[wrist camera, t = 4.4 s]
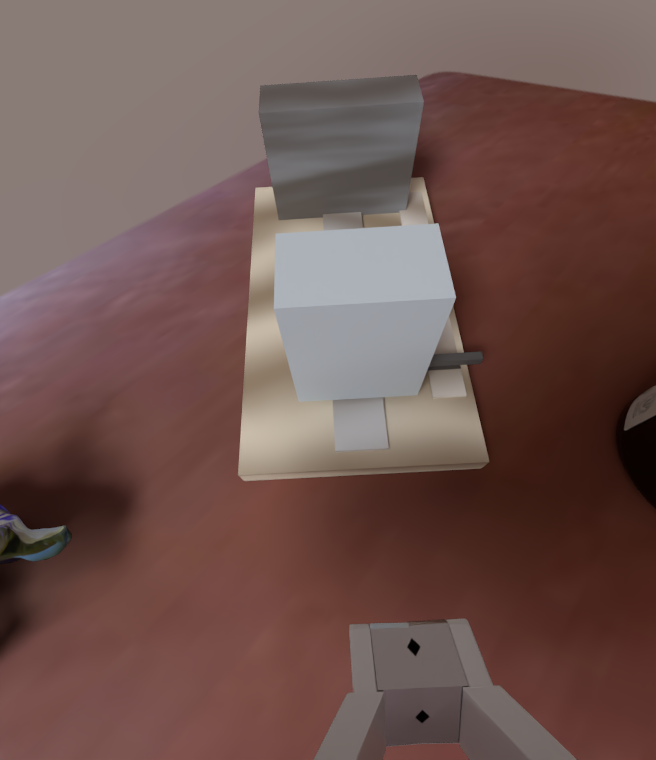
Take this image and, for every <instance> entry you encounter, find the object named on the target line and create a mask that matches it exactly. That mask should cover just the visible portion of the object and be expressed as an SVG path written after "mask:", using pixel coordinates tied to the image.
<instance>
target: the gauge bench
mask: <svg viewBox="0 0 656 760" xmlns="http://www.w3.org/2000/svg"><path fill="white" fill-rule="evenodd" d="M423 104H424V101H423V97H422V93H421V89H420V86H419V82H418V78H417V75H410V76H409V75H408V76H394V77H380V78H365V79H351V80H336V81H322V82H307V83H293V84H278V85H264V86H260V102H259V117H260V122H261V127H262V133H263V138H264V144H265V149H266V154H267V160H268V165H269V171H270V176H271V181H272V187H263V188H256V191H255V208H254V224H253V240H252V257H251V273H250V290H249V306H248V323H247V339H246V355H245V372H244V388H243V405H242V421H241V438H240V454H239V470H238V475H239V476H240V477H241V478H242V479H243V480H244V481H253V480H272V479H291V478H310V477H330V476H349V475H368V474H387V473H406V472H425V471H445V470H464V469H481V468H482V467H484V466H485V465H486V464H487V463H489V458H488V454H487V449H486V445H485V441H484V436H483V432H482V428H481V423H480V419H479V415H478V410H477V406H476V402H475V398H474V393H473V389H472V385H471V380H470V376H469V372H468V367H467V365H451V366H433V367H428V370H427V372H426V375H425V377H424V380H423V383H422V385H421V388H420V390H419V393H418V395H414V396H396V397H378V398H360V399H342V400H324V401H306V402H299V401H298V397H297V394H296V390H295V386H294V382H293V379H292V375H291V371H290V367H289V364H288V360H287V356H286V352H285V349H284V345H283V341H282V338H281V334H280V330H279V326H278V323H277V319H276V315H275V311H274V278H275V238H276V234H277V233H293V232H309V231H325V230H341V229H357V228H373V227H389V226H405V225H421V224H434V221H433V217H432V212H431V208H430V204H429V200H428V195H427V191H426V187H425V182H424V178H423V177H418V178H411V176H412V170H413V164H414V158H415V152H416V146H417V140H418V134H419V128H420V122H421V116H422V110H423ZM448 353H464V350H463V346H462V342H461V337H460V333H459V329H458V324H457V320H456V316H455V311H454V307H452V310H451V312H450V315H449V317H448V320H447V322H446V325H445V327H444V330H443V332H442V335H441V337H440V340H439V342H438V345H437V347H436V350H435V352H434V354H448Z"/></svg>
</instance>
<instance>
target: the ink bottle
mask: <svg viewBox="0 0 656 760" xmlns="http://www.w3.org/2000/svg"><path fill="white" fill-rule="evenodd" d="M617 442H618V448H619V452H620V456H621V459H622V461H623V464H624V466H625V468H626V471H627V473H628V474H629V476H630V478H631V480H632V481H633V483H634V484H635V486H636V487H637V489H638V490H639V491H640V493H641V494H642V495H643V496H644V497H645V498H646V500H647V501H648V502H649V503H650V504H651V505H652V506H653V507H654V508H656V385H655V386H653V387H652V388H650V389H649V390H647V391H645V392H644V393H642V394H641V395H639V396H638V397H636V398H635V399H634V400H632V401H631V402H630V403H629V404H628V405H627V406H626V408H625V409H624V410H623V412H622V414H621V416H620V419H619V422H618V427H617Z"/></svg>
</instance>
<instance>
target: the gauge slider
mask: <svg viewBox="0 0 656 760" xmlns="http://www.w3.org/2000/svg"><path fill="white" fill-rule="evenodd" d="M455 299H456V295H455V291H454V287H453V283H452V278H451V274H450V270H449V266H448V262H447V258H446V253H445V249H444V245H443V241H442V237H441V232H440V228H439V224H438V223H437V224H421V225H405V226H389V227H373V228H357V229H341V230H325V231H309V232H293V233H277V234H276V238H275V278H274V311H275V315H276V319H277V323H278V326H279V330H280V334H281V338H282V341H283V345H284V349H285V352H286V356H287V360H288V364H289V367H290V371H291V375H292V379H293V382H294V386H295V390H296V394H297V397H298V401H299V402H306V401H324V400H342V399H360V398H378V397H396V396H414V395H418V393H419V390H420V388H421V385H422V383H423V380H424V377H425V375H426V372H427V370H428V367H433V366H451V365H468V364H480V363H481V362H482V360H483V355H482V352H465V353H448V354H434V352H435V350H436V347H437V345H438V342H439V340H440V337H441V335H442V332H443V330H444V327H445V325H446V322H447V320H448V317H449V315H450V312H451V310H452V307H453V304H454V302H455Z"/></svg>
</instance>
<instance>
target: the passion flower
mask: <svg viewBox="0 0 656 760" xmlns="http://www.w3.org/2000/svg"><path fill="white" fill-rule="evenodd" d="M71 538H72V535H71V533H70V532H69V530H68V528H67V527H66V526H65V525H63V526H60V527H55V528H42V529H34V530H31V529H28V528H27V527H26V526H25V525H24V524H23V522H22V521H21V519H20V518H19V517H18V516H17V515H11V514H10V513H9V511H8V510H7V509H6V508H4V507H3V506H2V505H0V564H4V563H12V562H15V561H17V560H19V559H21V558H23V559H26V560H29V561H34V562H35V561H38V560H46V559H49V558H51V557H53V556H55V555H57V554H59V553H60V552H61V551H62V550H63V549H64V548H65V547H66V545H67V544H68V543H69V541H70V540H71Z"/></svg>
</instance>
